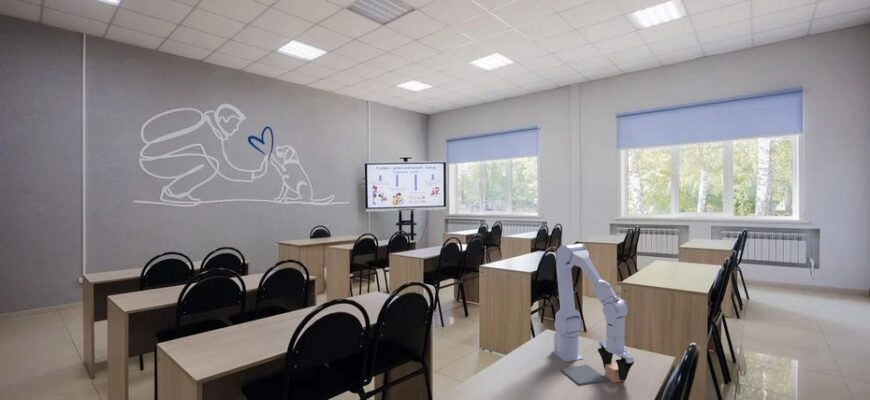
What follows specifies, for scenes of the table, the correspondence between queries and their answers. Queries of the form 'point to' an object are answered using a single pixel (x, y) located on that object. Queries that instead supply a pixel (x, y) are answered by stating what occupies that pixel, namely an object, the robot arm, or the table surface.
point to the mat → (583, 374)
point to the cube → (612, 372)
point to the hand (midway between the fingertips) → (615, 374)
